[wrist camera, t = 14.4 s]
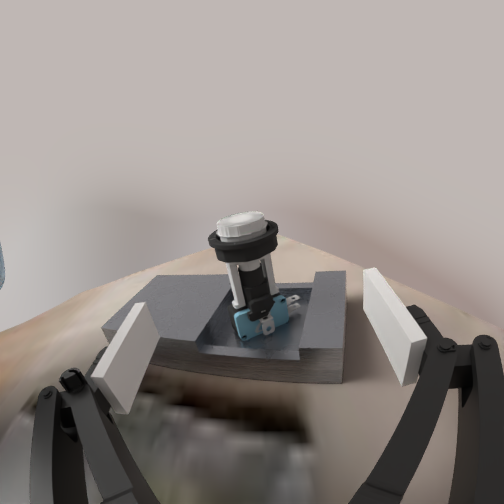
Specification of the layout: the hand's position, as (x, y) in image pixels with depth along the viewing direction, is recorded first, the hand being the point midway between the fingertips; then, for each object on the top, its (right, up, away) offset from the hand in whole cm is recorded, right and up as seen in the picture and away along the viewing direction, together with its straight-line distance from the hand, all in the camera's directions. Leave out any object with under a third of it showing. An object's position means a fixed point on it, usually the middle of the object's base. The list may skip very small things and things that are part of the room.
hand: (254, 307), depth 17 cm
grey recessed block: (-2, -5, +11) cm, 12 cm away
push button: (+1, -3, +9) cm, 10 cm away
